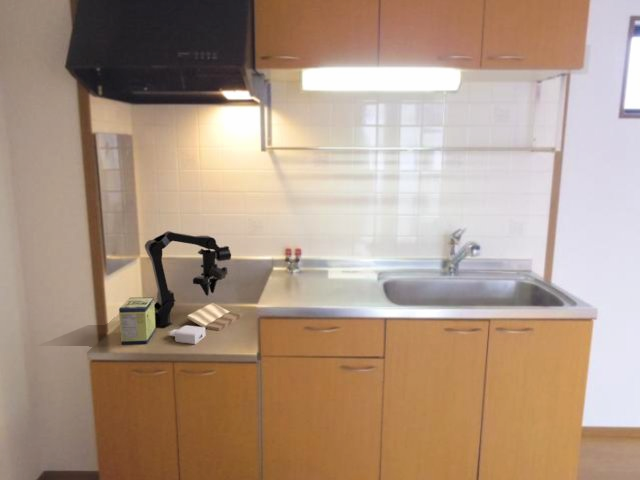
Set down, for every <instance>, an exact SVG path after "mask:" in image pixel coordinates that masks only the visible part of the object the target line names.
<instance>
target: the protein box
mask: <svg viewBox="0 0 640 480" xmlns="http://www.w3.org/2000/svg"><path fill="white" fill-rule="evenodd" d="M154 305H155V298H154V296H152V297H151V296H150V297H149V296H147V297H146V296H145V297H129V298H128V299H127V300H126V301H125V302H124V303H123V304H122V305H121V306H119V309H118V311H119V326H120V327H119V328H120V342H121V345H147V344H148V343H149V341H150V340H151V338H152V337H153V335H154V334H155V332H156V327H155V309H154Z"/></svg>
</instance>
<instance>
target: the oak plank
mask: <svg viewBox="0 0 640 480" xmlns="http://www.w3.org/2000/svg"><path fill="white" fill-rule="evenodd" d="M229 312H230V310H227V309H225V308H223V307H221V306H220V305H218V304H216V303H214V302H211V303H209V304H207V305H205V306H203V307H201V308H199V309H198V310H195V311H193V312H192V313H190V314H188V315H187V317H186V318H187V319H188V320H189V321H191V322H193V323H195V324H197V325H199V327H205V329H206V326H207V325H208V324H210V323H212V322H214V321H215V320H217V319H219V318H220V317H222V316H224V315H226V314H227V313H229Z"/></svg>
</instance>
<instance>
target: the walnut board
mask: <svg viewBox="0 0 640 480" xmlns="http://www.w3.org/2000/svg"><path fill="white" fill-rule="evenodd" d="M242 317H243V313H239V312H232V311H229V313H227V314H226V315H224V316H222V317H220V318H219V319H217V320H215V321H214V322H212V323H210V324H208V325H207V326H206V328H205V330H206V329H207V330H213V331H219V332H220V331H222V330H223V329H225V328H226V327H227V326H230V325H231V324H233V323H234V322H235V321H237V320H239V319H240V318H242Z"/></svg>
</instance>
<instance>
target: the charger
mask: <svg viewBox="0 0 640 480" xmlns="http://www.w3.org/2000/svg"><path fill="white" fill-rule="evenodd" d="M166 333H167V334H169V337H174V341H175V342H176V343H182V344H189V345H190V344H192V345H197V344H198V343H199V342H200V341H201V340H203V339H204V338H205V337H206V328H205V327H202V326H195V325H183V326H182V327H180V328H179V329H175V328H174V329H173V330H169V331H168V332H166Z"/></svg>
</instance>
